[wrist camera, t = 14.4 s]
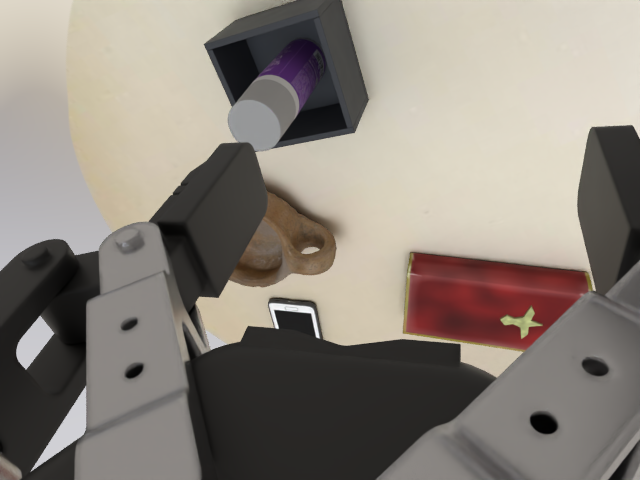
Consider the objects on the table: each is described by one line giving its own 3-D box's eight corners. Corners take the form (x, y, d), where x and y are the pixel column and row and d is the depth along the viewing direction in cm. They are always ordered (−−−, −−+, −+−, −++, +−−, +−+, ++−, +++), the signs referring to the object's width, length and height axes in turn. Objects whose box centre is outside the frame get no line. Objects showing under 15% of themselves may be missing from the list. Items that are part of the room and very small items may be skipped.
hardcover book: (410, 250, 62) (407, 271, 59) (588, 269, 57) (594, 294, 54) (406, 312, 70) (402, 334, 66) (562, 334, 65) (566, 359, 62)
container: (292, 28, 47) (236, 86, 36) (334, 52, 48) (291, 117, 37) (276, 69, 50) (219, 135, 39) (315, 91, 51) (270, 162, 40)
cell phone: (315, 301, 73) (314, 305, 72) (327, 361, 82) (326, 366, 81) (268, 297, 75) (266, 301, 74) (285, 355, 84) (283, 360, 83)
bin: (235, 20, 49) (203, 44, 43) (337, -13, 44) (317, 9, 39) (275, 120, 55) (252, 152, 49) (368, 99, 51) (354, 132, 45)
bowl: (323, 162, 55) (308, 232, 50) (351, 233, 66) (341, 297, 60) (191, 173, 61) (164, 237, 55) (237, 237, 72) (218, 296, 66)
